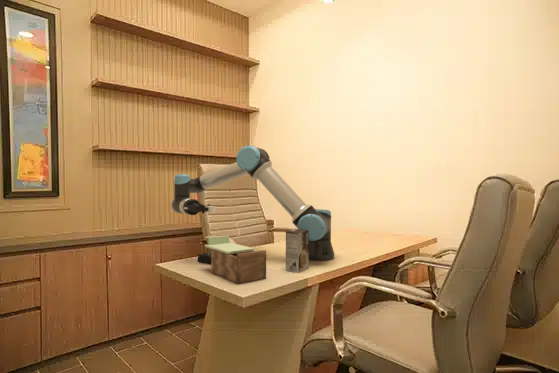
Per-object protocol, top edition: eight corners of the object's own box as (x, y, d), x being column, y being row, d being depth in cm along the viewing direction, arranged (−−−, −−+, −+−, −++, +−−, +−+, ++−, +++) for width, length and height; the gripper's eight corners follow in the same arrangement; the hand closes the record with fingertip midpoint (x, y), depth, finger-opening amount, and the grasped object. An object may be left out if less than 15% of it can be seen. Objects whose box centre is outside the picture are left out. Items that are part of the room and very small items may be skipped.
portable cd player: (222, 257, 168) (222, 248, 168) (250, 261, 159) (250, 252, 159) (197, 263, 154) (197, 254, 154) (226, 268, 145) (226, 259, 145)
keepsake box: (266, 278, 128) (266, 250, 128) (238, 284, 120) (238, 254, 120) (237, 268, 144) (237, 243, 144) (211, 272, 136) (211, 246, 136)
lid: (254, 250, 134) (254, 240, 134) (228, 254, 126) (228, 243, 126) (229, 244, 148) (229, 235, 148) (204, 246, 141) (205, 237, 141)
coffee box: (295, 266, 148) (295, 228, 148) (308, 268, 145) (309, 229, 145) (284, 270, 141) (285, 230, 140) (298, 272, 137) (299, 232, 137)
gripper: (202, 214, 170) (227, 217, 151) (176, 215, 161) (199, 219, 143) (202, 198, 170) (227, 200, 151) (177, 199, 161) (199, 201, 143)
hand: (213, 209), depth 147 cm, fingers closed
